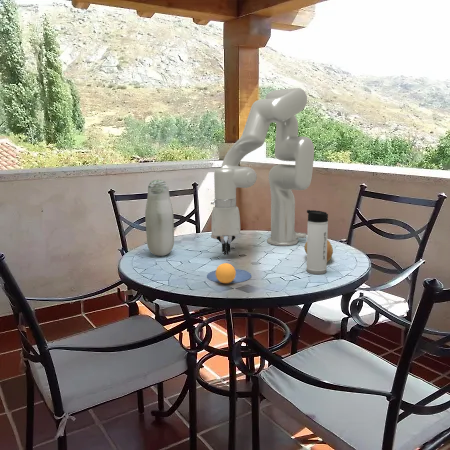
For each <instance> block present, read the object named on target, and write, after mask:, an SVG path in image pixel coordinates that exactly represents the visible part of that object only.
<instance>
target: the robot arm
mask: <svg viewBox="0 0 450 450" xmlns="http://www.w3.org/2000/svg"><path fill="white" fill-rule="evenodd" d="M307 103H308V95H307V93H306V91H304V89H302V88H300V87H292V88H283V89H282V88H281V89H276V90H271V91H268V93H266V95H265V98H263V99H257V100H255V101H254V102H253V103H252V105H251V107H250V111H249V113H248V116H247V119H246V122H245V125H244V128H243V132H242V133H241V137H240V138H239V139H237V141H235V143H233V145H232V146H231V147H230V148H229V149H228V150H227V152H226V154H225V156H224V158H223V160H222V164H221V166H220V168H216V169H214V171H213V172H214V174H213V175H214V176H213V177H214V180H213V182H214V183H213V184H214V199H213V200H210V205H212V206H213V205H214V206H213V207H212V209H211V210H212V211H211V234H210V238H211V239H214V240H218V241H219V243H221V253H223V255H224V256H225V255H230V254H229V253H230V252H231V244H232V242H233V241H235V240H236V239H240V238H241V237H242V235H241V217H240V210H239V207H238V206H237V188H241V189H248V188H251V187H253V186H254V185H255V183H256V181H257V178H258V176H257V172H256V171H255V169H254V168H252V167H249V166H240V165H239V164H240V162H241V161H242V160H243V159H244V158H245V156H247V155H248V154H251V153H252V152H254V151H255V150H257V149H260V148H262V146H263V145H264V144H265V140H266V137H267V134H268V131H269V128H270V125H271V124H272V123H275V126H276V128H275V129H276V130H275V142H274V144H275V145H274V156H275V158H276V159H277V160H279V161H283V162H295V164H284V163H283V164H282V163H281V164H277V165H274V166H272V167H271V168H270V170H269V173H268V183H269V187H270V188H269V189H270V237H267V240H266V242H267V243H268V244H269V245H273V246H280V247H281V246H285V247H286V246H294V245H297V244H298V243H299V239H307V233H306V232H296V230H295V222H296V220H295V219H296V217H295V216H296V215H295V213H296V212H295V211H296V199H295V195H294V193H293V190H294V191H305V190H307V189H308V188H309V187H310V185H311V182H312V178H313V177H312V176H313V168H314V160H315V159H314V158H315V147H314V143H313V141H312V139H311V138H309V137H307V136H299V122H298V119H297V117H296V115H297V114H299V113H301V112H302V111H303V110H304V109H305V108H306V106H307ZM224 237H227V240H225V238H224Z"/></svg>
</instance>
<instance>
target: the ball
mask: <svg viewBox="0 0 450 450" xmlns="http://www.w3.org/2000/svg"><path fill="white" fill-rule="evenodd" d="M235 269H236V268H235V266H233V265H232V264H230V263H227V262H225V263H221V264H219V265H218V266H217V267H216V269H215V270H216V277H217V279H218V280H219V281H220V282H221V283H220V284H231V283H230V282H232V281H233V280H234V278H235V275H236V271H235Z"/></svg>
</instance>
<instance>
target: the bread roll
mask: <svg viewBox="0 0 450 450" xmlns="http://www.w3.org/2000/svg"><path fill="white" fill-rule="evenodd" d="M304 251H305V253H306V255H307V241H306V242H305V244H304ZM333 253H334V248H333V245H332V243H331V242H330V241H329V239H327V263H328V262H329V261H330V260H331V259H332V257H333V255H334V254H333Z"/></svg>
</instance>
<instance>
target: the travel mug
mask: <svg viewBox="0 0 450 450" xmlns="http://www.w3.org/2000/svg"><path fill="white" fill-rule="evenodd" d="M306 214H307V226H306V227H307V228H306V229H307V231H306V232H307V233H306V242H307V254H306V272H307V274H308V273H309V274H311V275H324V274H326V273H327V264H328V262H327V240H328V233H329V231H328V228H329V213H327V212H326V211H323V210H314V209H313V210H312V209H307V210H306Z"/></svg>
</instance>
